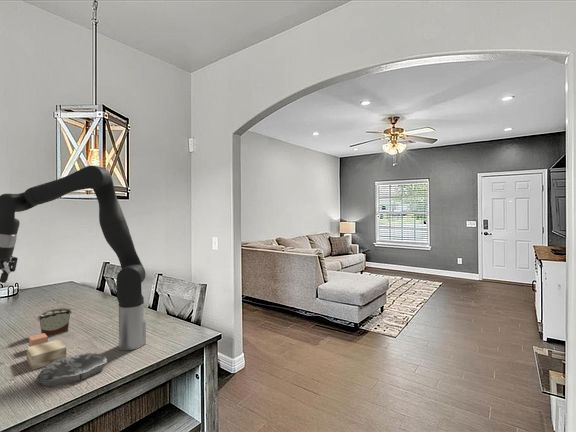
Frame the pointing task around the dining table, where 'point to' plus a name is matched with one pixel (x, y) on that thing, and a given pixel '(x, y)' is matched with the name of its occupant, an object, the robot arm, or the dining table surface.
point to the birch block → (45, 353)
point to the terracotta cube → (38, 339)
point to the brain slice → (72, 369)
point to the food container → (54, 321)
